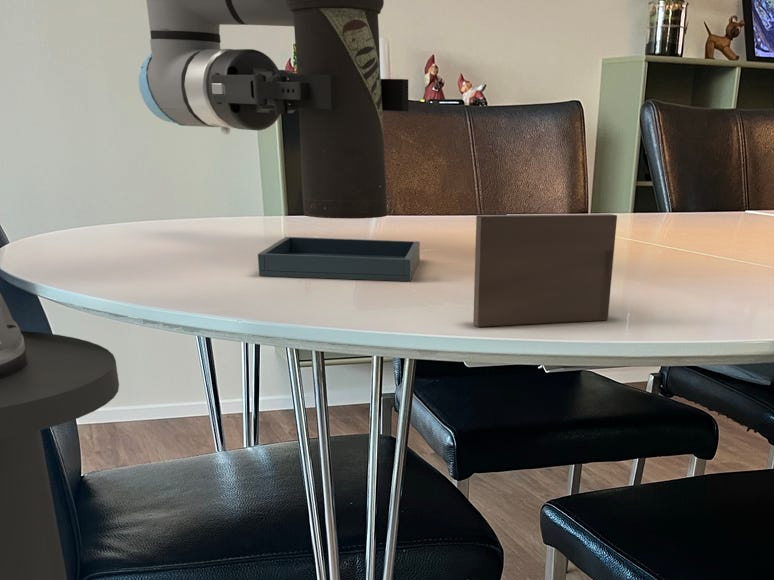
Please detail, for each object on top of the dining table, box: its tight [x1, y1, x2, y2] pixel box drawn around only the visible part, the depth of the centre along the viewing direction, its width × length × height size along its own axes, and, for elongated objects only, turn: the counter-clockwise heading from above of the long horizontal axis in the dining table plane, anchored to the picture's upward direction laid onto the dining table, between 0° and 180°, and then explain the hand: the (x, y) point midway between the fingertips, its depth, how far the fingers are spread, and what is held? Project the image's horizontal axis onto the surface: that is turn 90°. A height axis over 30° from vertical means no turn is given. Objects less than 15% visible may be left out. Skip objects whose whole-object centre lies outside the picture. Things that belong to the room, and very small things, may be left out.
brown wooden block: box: [472, 213, 618, 328], centre depth 84 cm, size 15×12×8 cm
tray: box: [257, 236, 421, 282], centre depth 103 cm, size 15×15×2 cm
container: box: [286, 0, 388, 220], centre depth 96 cm, size 9×9×20 cm
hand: (370, 94), depth 93 cm, fingers closed on container, 8 cm apart
